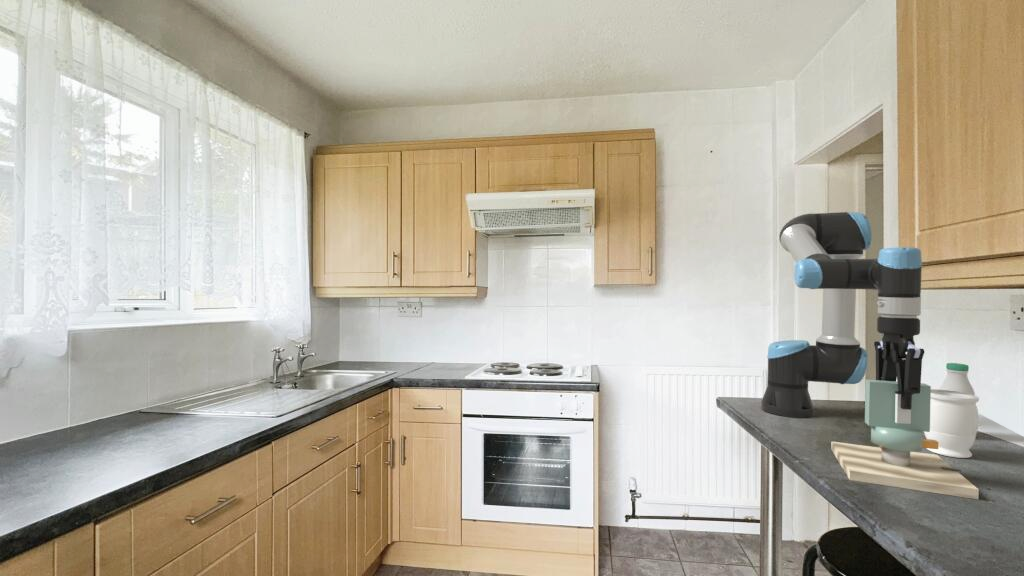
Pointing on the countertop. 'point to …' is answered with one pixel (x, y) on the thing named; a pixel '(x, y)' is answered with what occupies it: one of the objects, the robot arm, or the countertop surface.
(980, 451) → the countertop surface
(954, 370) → the milk bottle
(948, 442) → the jar
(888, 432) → the mint bar with ball
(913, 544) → the countertop surface
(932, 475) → the base
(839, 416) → the countertop surface
